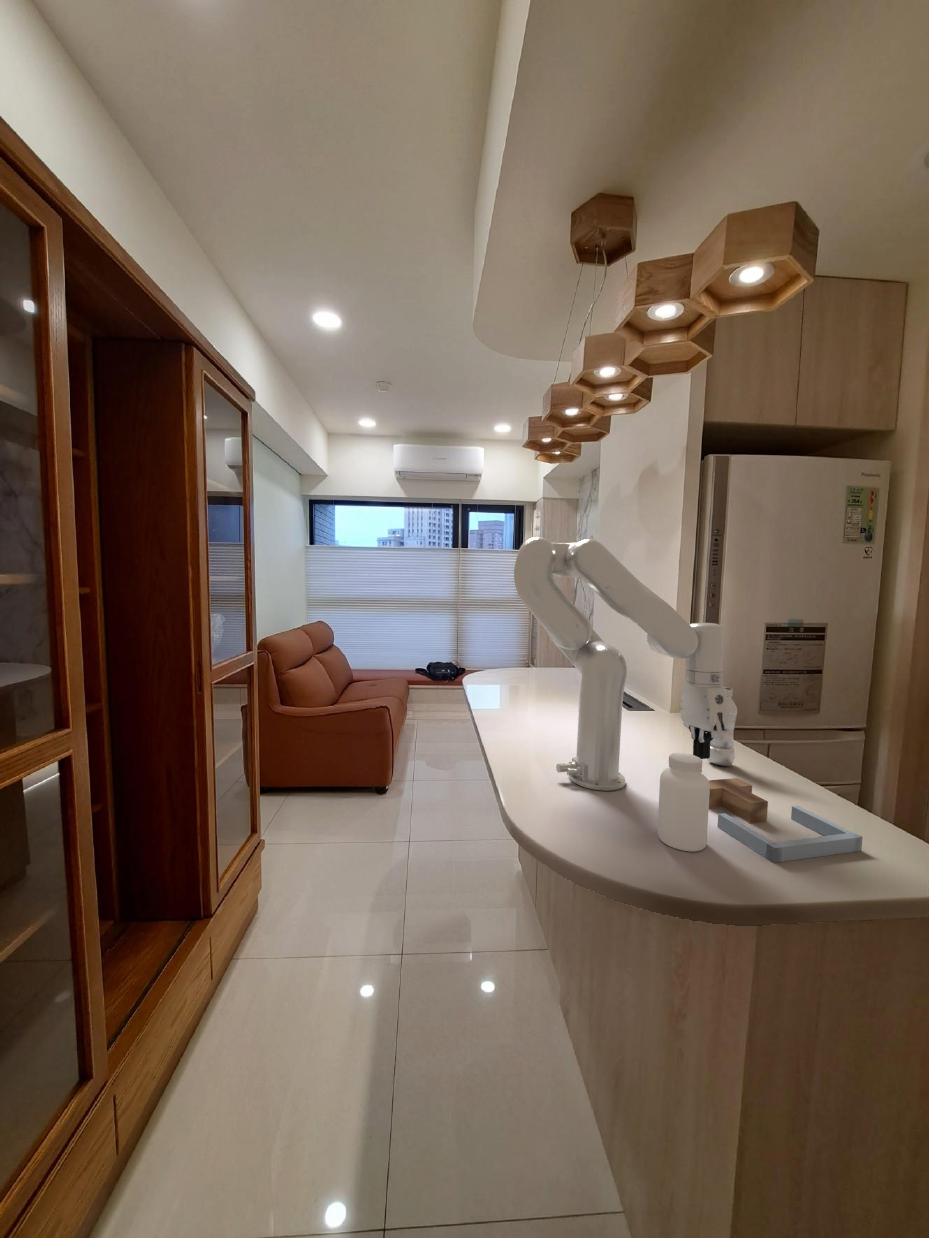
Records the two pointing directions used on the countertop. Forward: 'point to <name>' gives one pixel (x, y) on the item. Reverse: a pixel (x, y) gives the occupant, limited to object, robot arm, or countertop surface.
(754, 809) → the t block
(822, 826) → the frame
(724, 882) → the countertop surface
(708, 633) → the robot arm
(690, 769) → the pill bottle
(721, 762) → the plastic bottle
